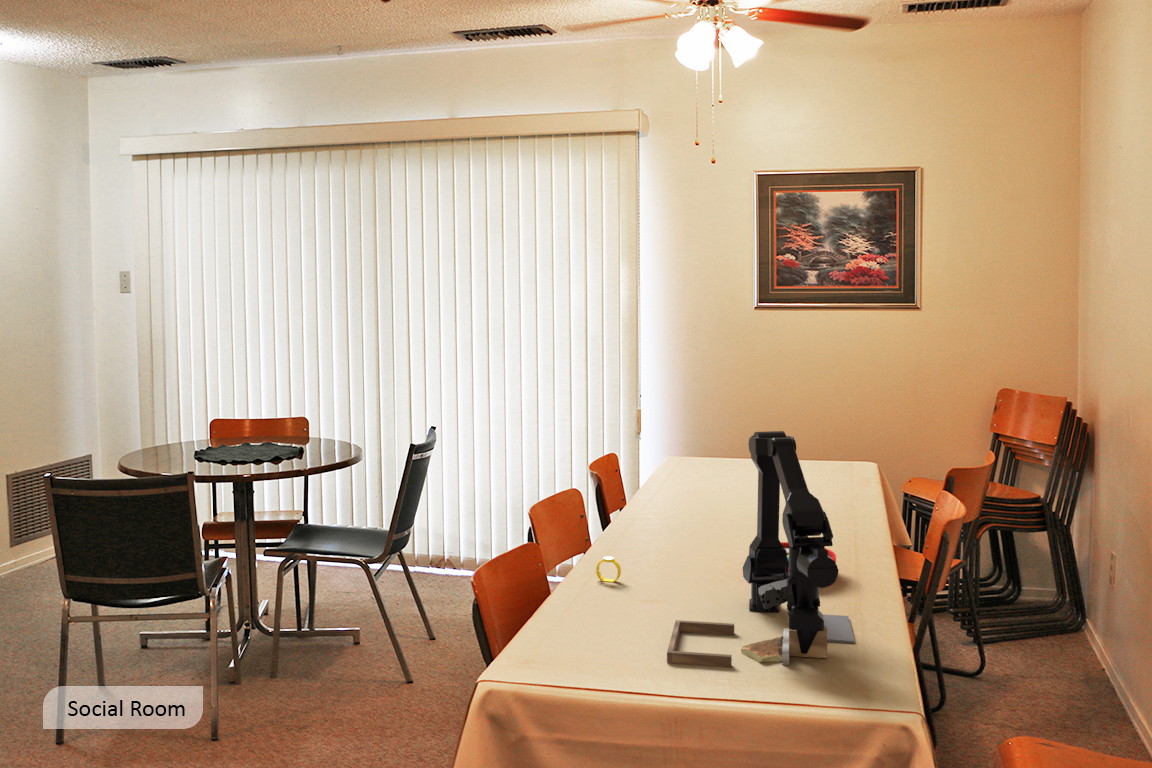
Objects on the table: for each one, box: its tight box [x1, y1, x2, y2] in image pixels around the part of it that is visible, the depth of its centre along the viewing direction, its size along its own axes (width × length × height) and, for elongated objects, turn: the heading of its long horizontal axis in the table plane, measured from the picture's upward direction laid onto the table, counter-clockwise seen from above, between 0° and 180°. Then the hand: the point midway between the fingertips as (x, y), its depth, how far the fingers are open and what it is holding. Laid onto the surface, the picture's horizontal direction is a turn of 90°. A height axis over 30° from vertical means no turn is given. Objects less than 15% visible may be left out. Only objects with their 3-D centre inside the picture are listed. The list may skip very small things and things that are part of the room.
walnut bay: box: [666, 619, 735, 668], centre depth 177 cm, size 17×12×2 cm
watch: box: [595, 555, 622, 583], centre depth 218 cm, size 6×3×6 cm, turn 69°
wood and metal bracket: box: [781, 626, 828, 666], centre depth 173 cm, size 12×8×5 cm
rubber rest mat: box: [822, 613, 856, 644], centre depth 186 cm, size 14×11×1 cm
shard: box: [740, 635, 783, 663], centre depth 174 cm, size 11×8×2 cm
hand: (803, 649), depth 173 cm, fingers closed on wood and metal bracket, 4 cm apart
